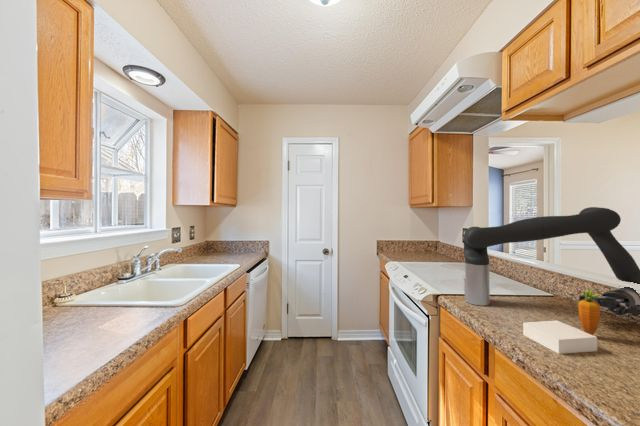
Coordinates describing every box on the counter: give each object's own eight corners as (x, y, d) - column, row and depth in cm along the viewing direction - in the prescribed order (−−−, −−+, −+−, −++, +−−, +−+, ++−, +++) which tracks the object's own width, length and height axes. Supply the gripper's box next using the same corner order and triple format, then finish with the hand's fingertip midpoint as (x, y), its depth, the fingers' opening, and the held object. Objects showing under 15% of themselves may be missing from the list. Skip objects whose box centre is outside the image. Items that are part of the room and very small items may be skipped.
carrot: (589, 333, 89) (588, 287, 89) (605, 340, 84) (604, 291, 84) (574, 333, 89) (573, 287, 89) (589, 340, 84) (589, 292, 84)
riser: (523, 334, 89) (523, 322, 89) (557, 332, 90) (557, 320, 90) (558, 353, 77) (558, 339, 77) (597, 351, 78) (597, 337, 78)
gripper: (593, 284, 103) (571, 291, 96) (651, 295, 90) (630, 303, 83) (593, 304, 103) (572, 312, 96) (651, 317, 90) (631, 327, 83)
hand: (599, 307), depth 90 cm, fingers open, 8 cm apart
